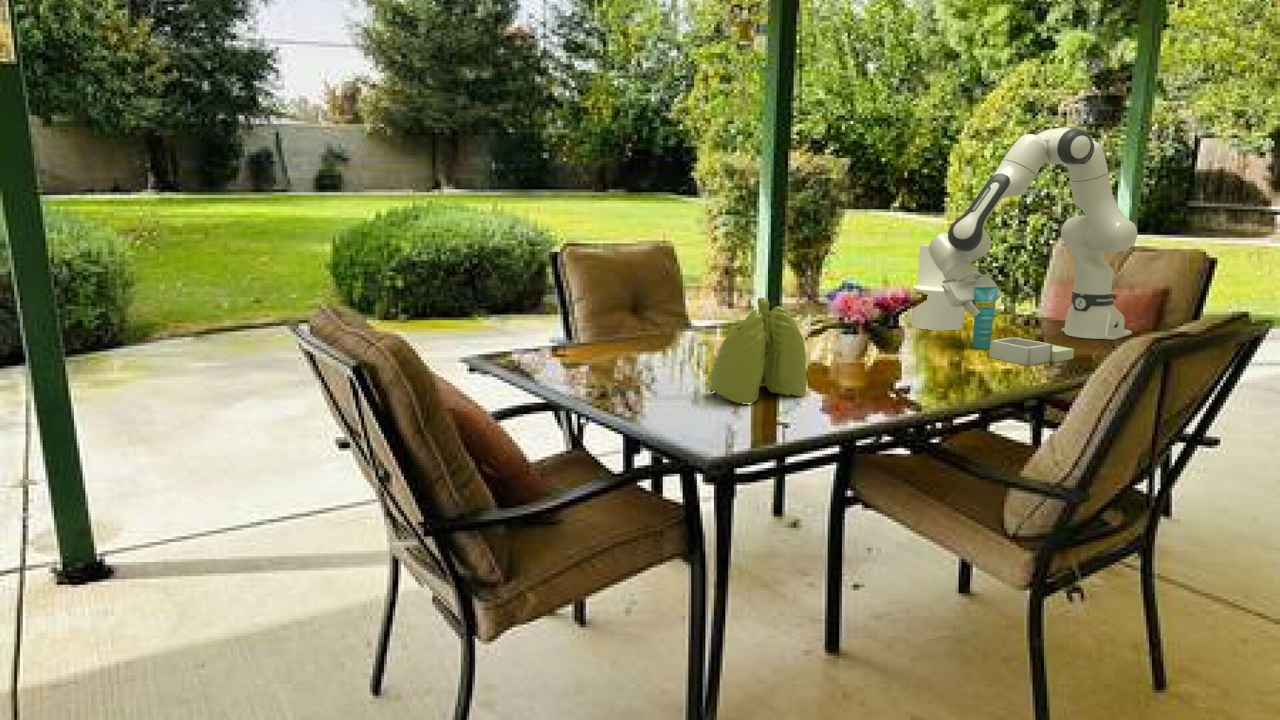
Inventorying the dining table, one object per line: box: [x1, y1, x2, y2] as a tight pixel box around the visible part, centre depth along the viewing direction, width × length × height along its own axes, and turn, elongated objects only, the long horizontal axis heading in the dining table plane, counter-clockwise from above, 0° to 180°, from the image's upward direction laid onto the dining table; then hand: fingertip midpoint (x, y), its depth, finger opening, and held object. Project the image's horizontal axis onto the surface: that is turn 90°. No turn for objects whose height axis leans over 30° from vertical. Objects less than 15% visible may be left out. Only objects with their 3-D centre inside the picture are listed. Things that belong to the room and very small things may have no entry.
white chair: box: [910, 244, 965, 332], centre depth 314 cm, size 17×17×28 cm
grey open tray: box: [988, 336, 1075, 366], centre depth 265 cm, size 18×16×5 cm
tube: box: [972, 285, 999, 350], centre depth 279 cm, size 7×5×19 cm, turn 98°
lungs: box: [709, 297, 808, 404], centre depth 224 cm, size 25×16×24 cm, turn 117°
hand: (986, 313), depth 278 cm, fingers closed on tube, 5 cm apart
